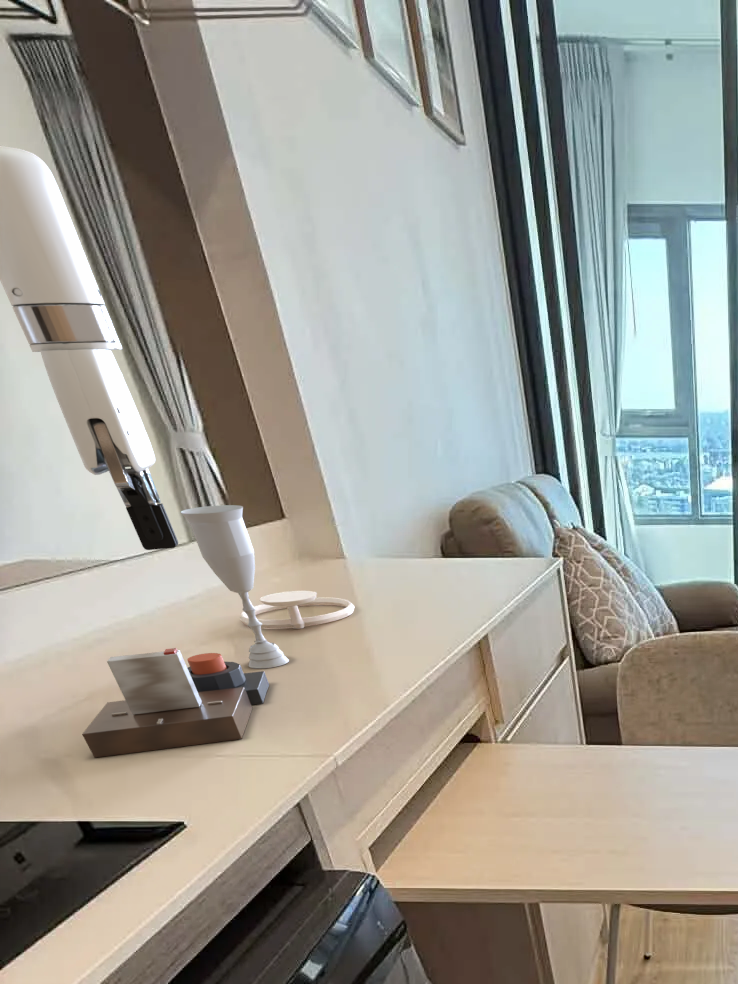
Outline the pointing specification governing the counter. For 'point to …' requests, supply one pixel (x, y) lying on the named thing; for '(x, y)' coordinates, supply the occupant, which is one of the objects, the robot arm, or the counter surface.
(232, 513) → the chalice
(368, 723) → the counter surface
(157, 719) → the block
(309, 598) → the hand towel holder
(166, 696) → the grey metal plate
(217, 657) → the button
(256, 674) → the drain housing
